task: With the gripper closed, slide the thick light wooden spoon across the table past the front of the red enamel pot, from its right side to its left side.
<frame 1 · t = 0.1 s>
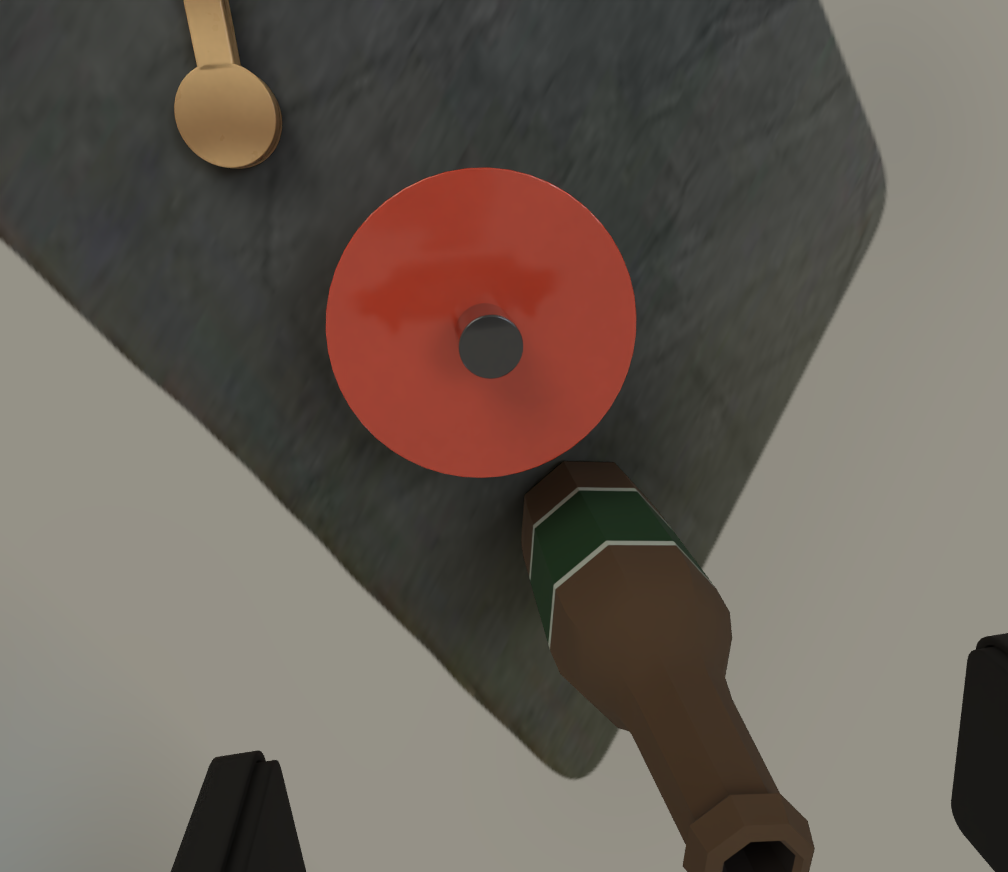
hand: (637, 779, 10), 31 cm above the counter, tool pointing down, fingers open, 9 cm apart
beer bottle: (581, 515, 44), on the counter
pot lid: (483, 330, 31), point 8 cm above the counter, touching pot
spoon: (218, 40, 34), on the counter
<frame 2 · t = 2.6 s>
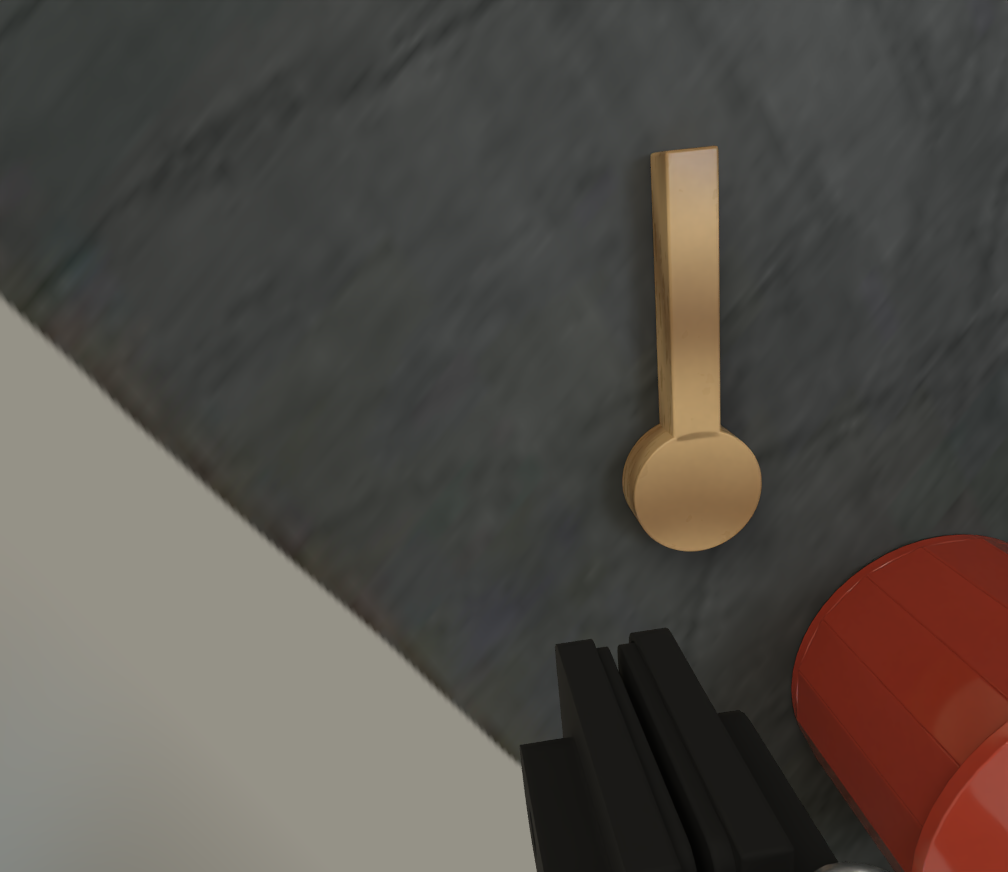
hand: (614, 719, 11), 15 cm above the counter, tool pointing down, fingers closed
pot: (928, 664, 30), on the counter
spoon: (680, 385, 25), on the counter
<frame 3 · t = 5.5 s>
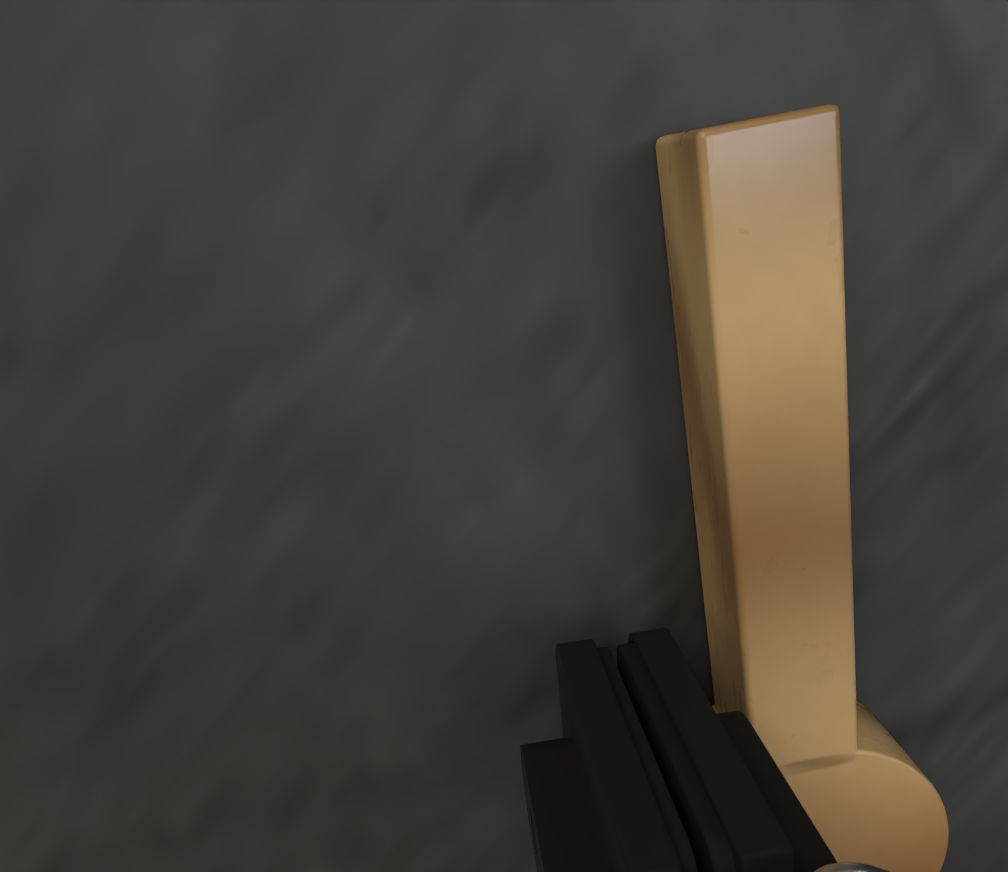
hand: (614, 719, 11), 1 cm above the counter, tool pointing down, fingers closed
spoon: (755, 628, 12), on the counter, touching gripper
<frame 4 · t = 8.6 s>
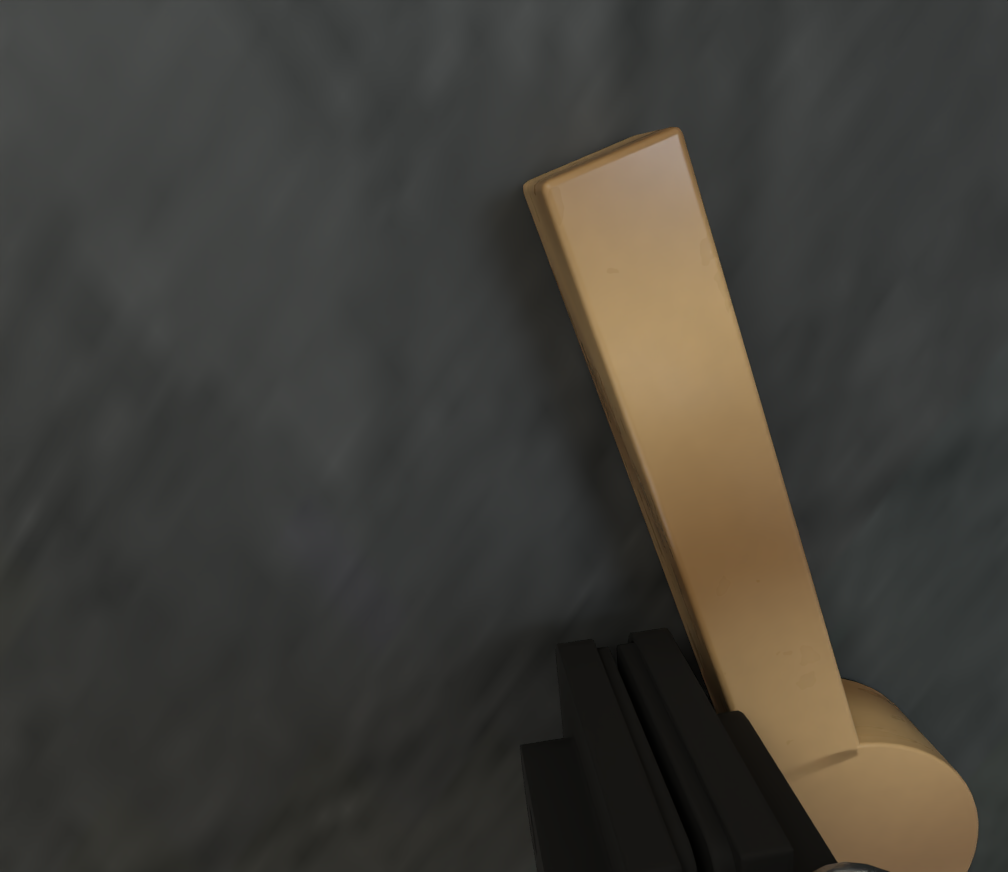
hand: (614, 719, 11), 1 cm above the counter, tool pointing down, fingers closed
spoon: (740, 633, 12), on the counter, touching gripper
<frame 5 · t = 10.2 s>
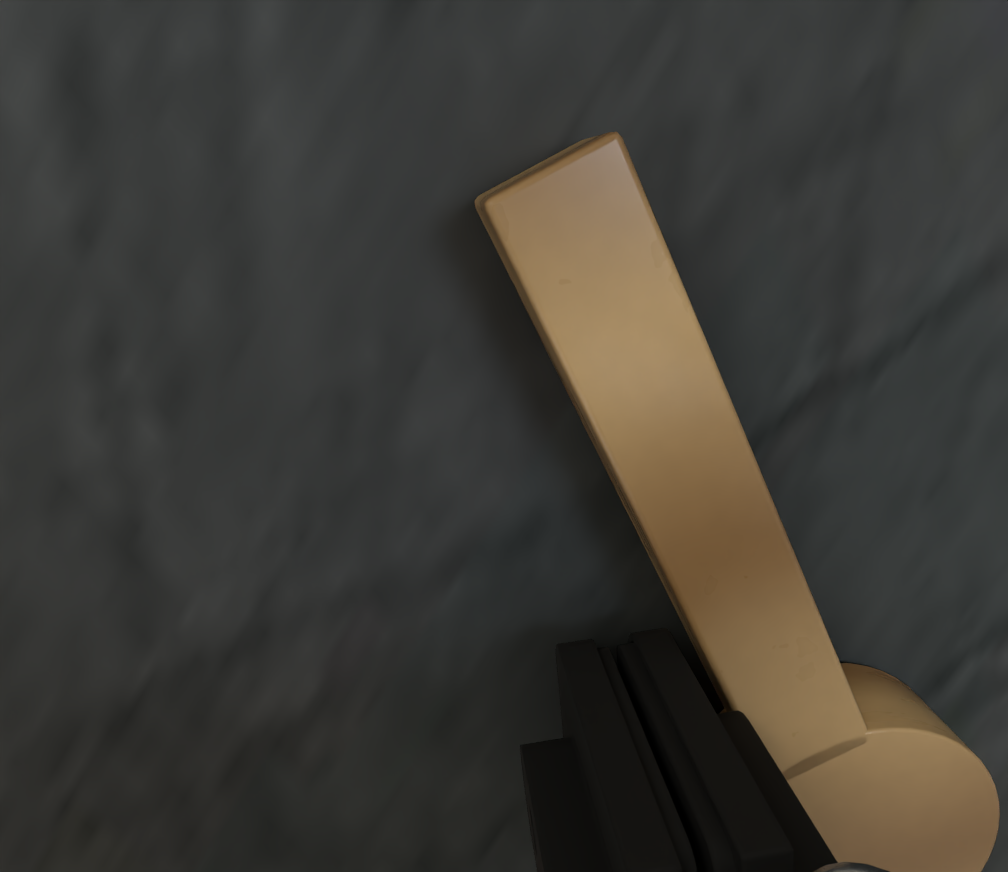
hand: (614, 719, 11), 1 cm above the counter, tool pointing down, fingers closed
spoon: (741, 626, 12), on the counter, touching gripper
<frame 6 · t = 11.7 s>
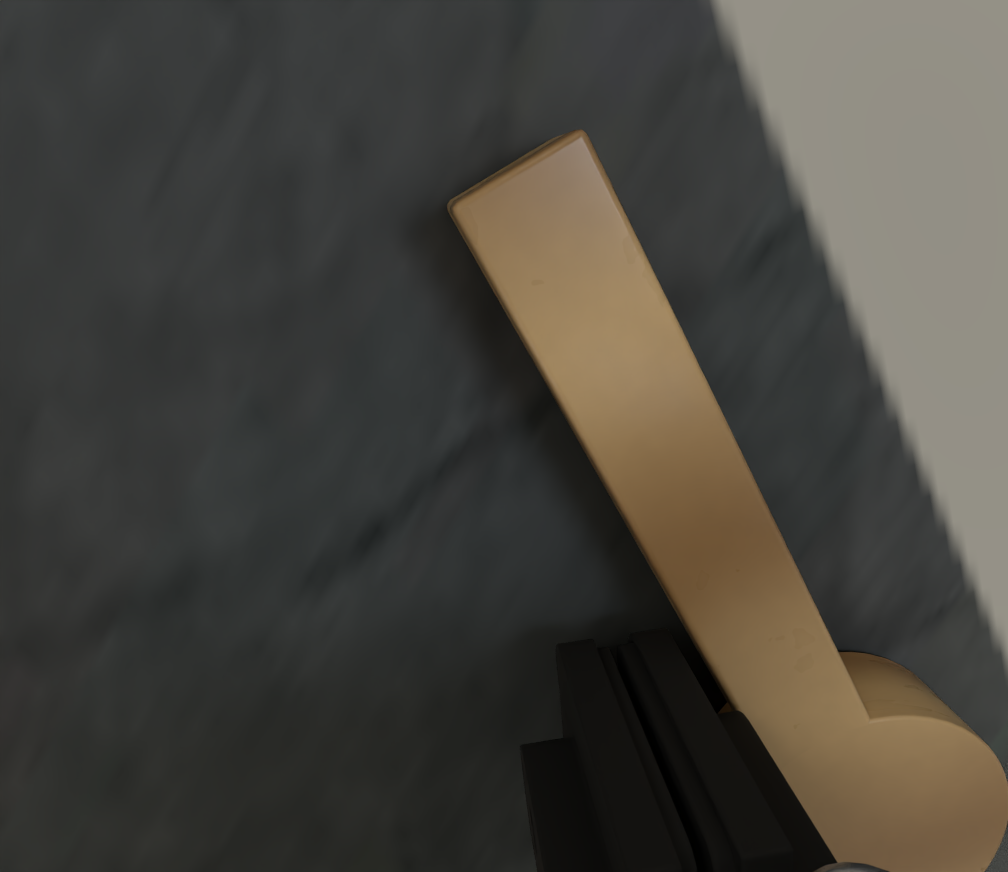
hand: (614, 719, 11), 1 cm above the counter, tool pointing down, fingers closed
spoon: (740, 619, 12), on the counter, touching gripper
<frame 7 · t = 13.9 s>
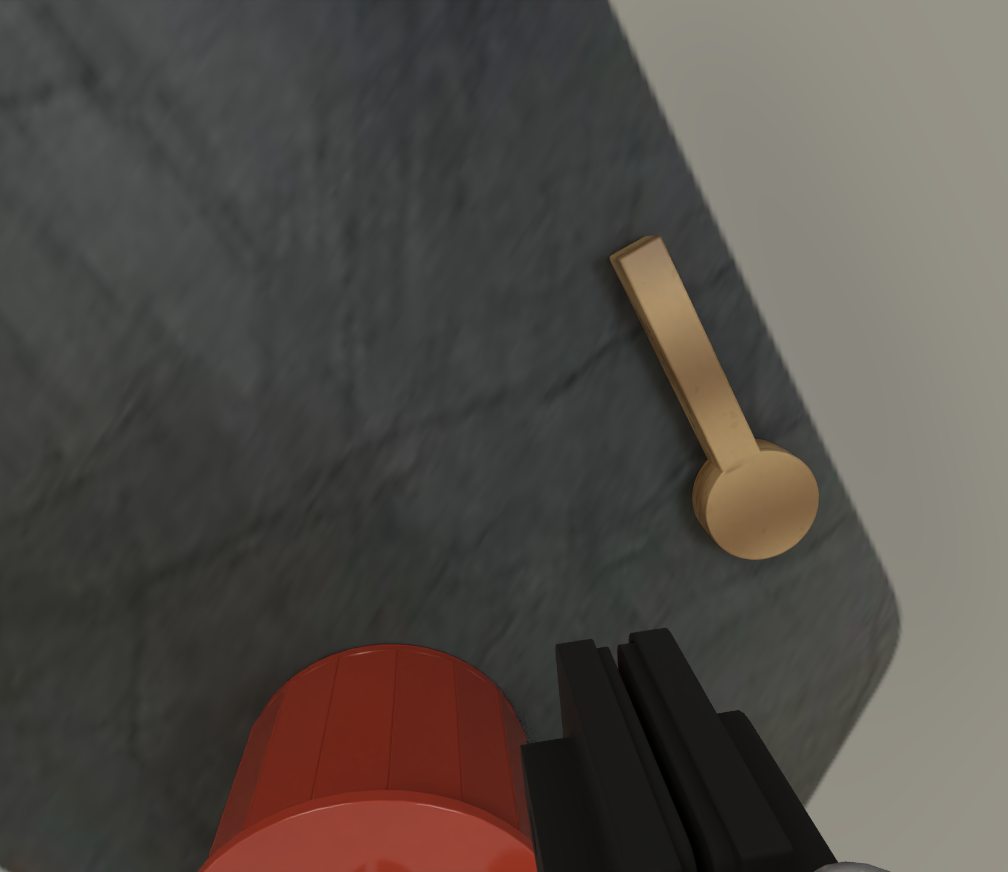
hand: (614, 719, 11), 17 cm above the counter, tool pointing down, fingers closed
pot: (388, 764, 32), on the counter
spoon: (712, 422, 29), on the counter
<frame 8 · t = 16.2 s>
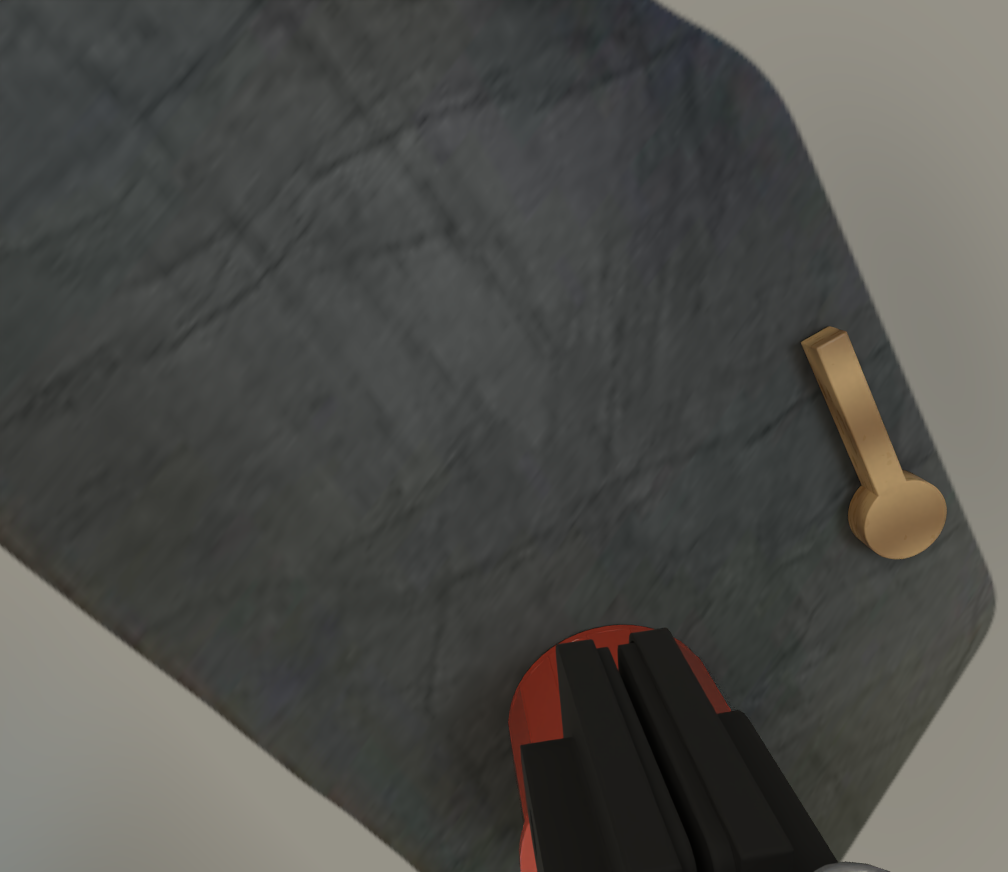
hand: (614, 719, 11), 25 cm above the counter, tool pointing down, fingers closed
pot lid: (657, 839, 34), point 8 cm above the counter, touching pot
pot: (611, 715, 42), on the counter
spoon: (866, 458, 39), on the counter
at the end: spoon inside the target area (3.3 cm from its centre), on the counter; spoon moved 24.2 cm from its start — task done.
